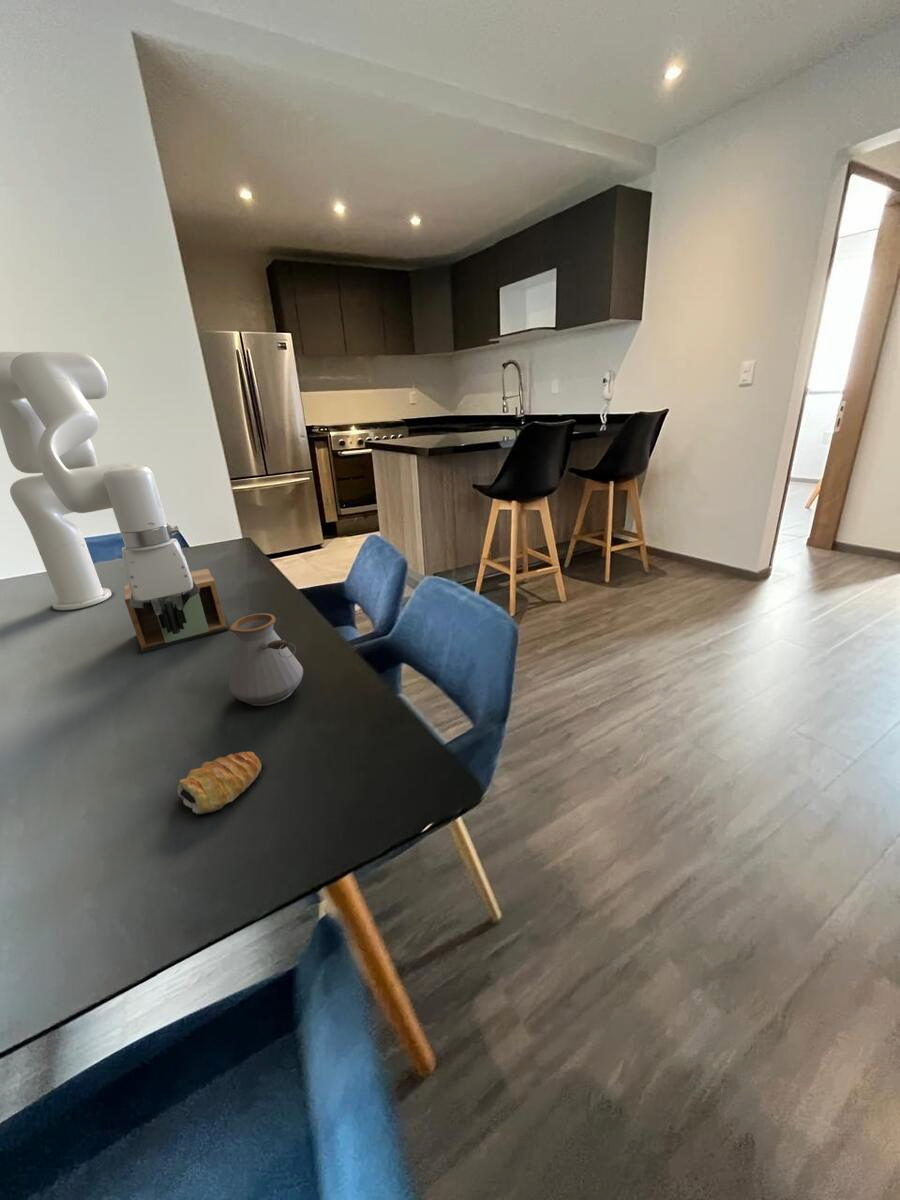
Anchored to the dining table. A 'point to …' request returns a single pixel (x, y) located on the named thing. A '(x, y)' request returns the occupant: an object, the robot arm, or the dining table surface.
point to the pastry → (218, 781)
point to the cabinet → (149, 623)
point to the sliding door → (192, 614)
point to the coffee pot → (262, 663)
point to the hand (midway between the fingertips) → (175, 628)
